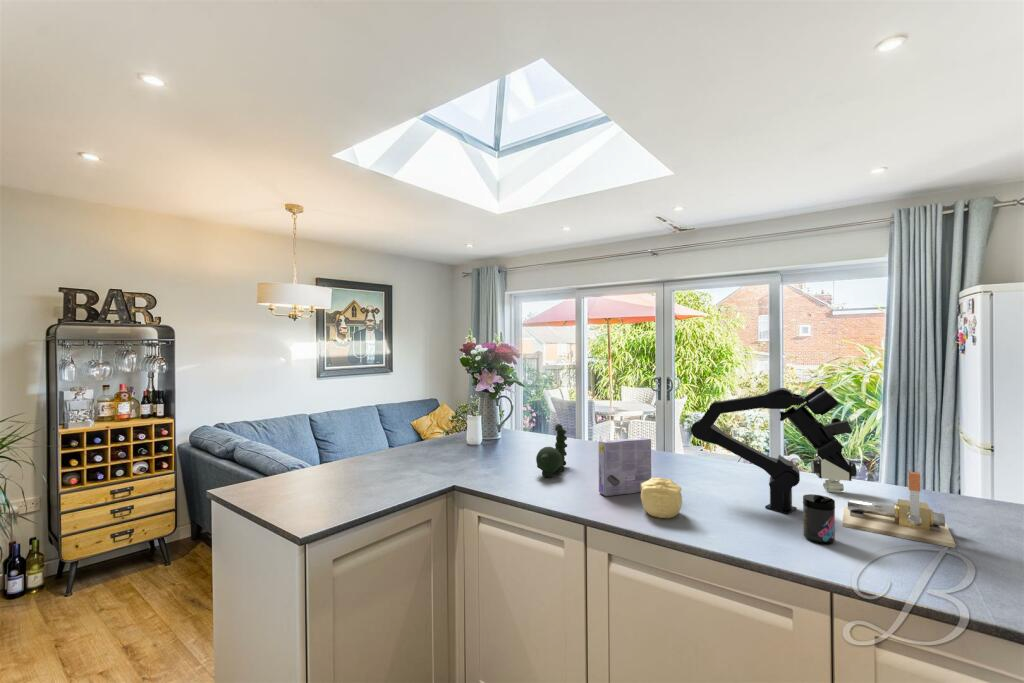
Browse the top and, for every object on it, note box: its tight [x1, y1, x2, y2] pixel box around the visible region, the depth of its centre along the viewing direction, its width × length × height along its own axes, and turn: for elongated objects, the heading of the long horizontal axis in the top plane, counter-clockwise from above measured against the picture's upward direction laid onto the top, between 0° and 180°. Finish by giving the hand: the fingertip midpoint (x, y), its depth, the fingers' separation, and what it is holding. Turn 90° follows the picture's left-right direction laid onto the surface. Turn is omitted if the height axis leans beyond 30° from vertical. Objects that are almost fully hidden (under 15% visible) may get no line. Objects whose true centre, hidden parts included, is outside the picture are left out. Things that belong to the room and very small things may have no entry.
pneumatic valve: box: [810, 455, 857, 494], centre depth 151 cm, size 6×12×12 cm, turn 68°
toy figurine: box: [535, 423, 568, 479], centre depth 176 cm, size 9×19×25 cm
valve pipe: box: [847, 498, 946, 532], centre depth 124 cm, size 20×5×6 cm, turn 52°
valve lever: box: [907, 470, 922, 526], centre depth 118 cm, size 3×2×14 cm
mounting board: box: [842, 506, 956, 549], centre depth 122 cm, size 22×15×1 cm
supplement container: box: [802, 493, 836, 546], centre depth 115 cm, size 7×7×10 cm
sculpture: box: [640, 476, 683, 519], centre depth 133 cm, size 11×12×11 cm
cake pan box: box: [598, 437, 652, 497], centre depth 153 cm, size 19×5×18 cm, turn 108°
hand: (850, 471), depth 127 cm, fingers closed
